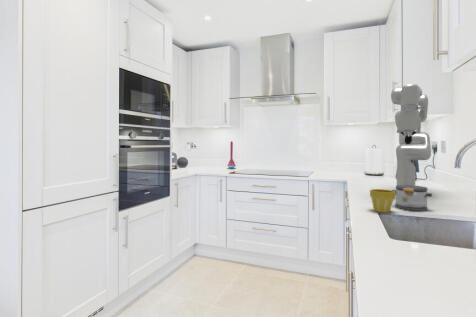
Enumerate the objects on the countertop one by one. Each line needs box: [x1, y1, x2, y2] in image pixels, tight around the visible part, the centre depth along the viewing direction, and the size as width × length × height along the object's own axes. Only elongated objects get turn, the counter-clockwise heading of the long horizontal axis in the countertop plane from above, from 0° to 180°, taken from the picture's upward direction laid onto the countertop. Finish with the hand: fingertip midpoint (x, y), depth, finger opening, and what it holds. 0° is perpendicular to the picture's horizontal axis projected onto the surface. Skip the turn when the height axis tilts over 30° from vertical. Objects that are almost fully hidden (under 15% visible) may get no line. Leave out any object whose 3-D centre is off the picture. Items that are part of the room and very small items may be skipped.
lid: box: [395, 184, 428, 192], centre depth 131 cm, size 16×13×1 cm
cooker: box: [390, 188, 433, 212], centre depth 132 cm, size 14×17×9 cm
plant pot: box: [369, 188, 396, 214], centre depth 126 cm, size 10×10×10 cm
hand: (408, 143), depth 141 cm, fingers closed
